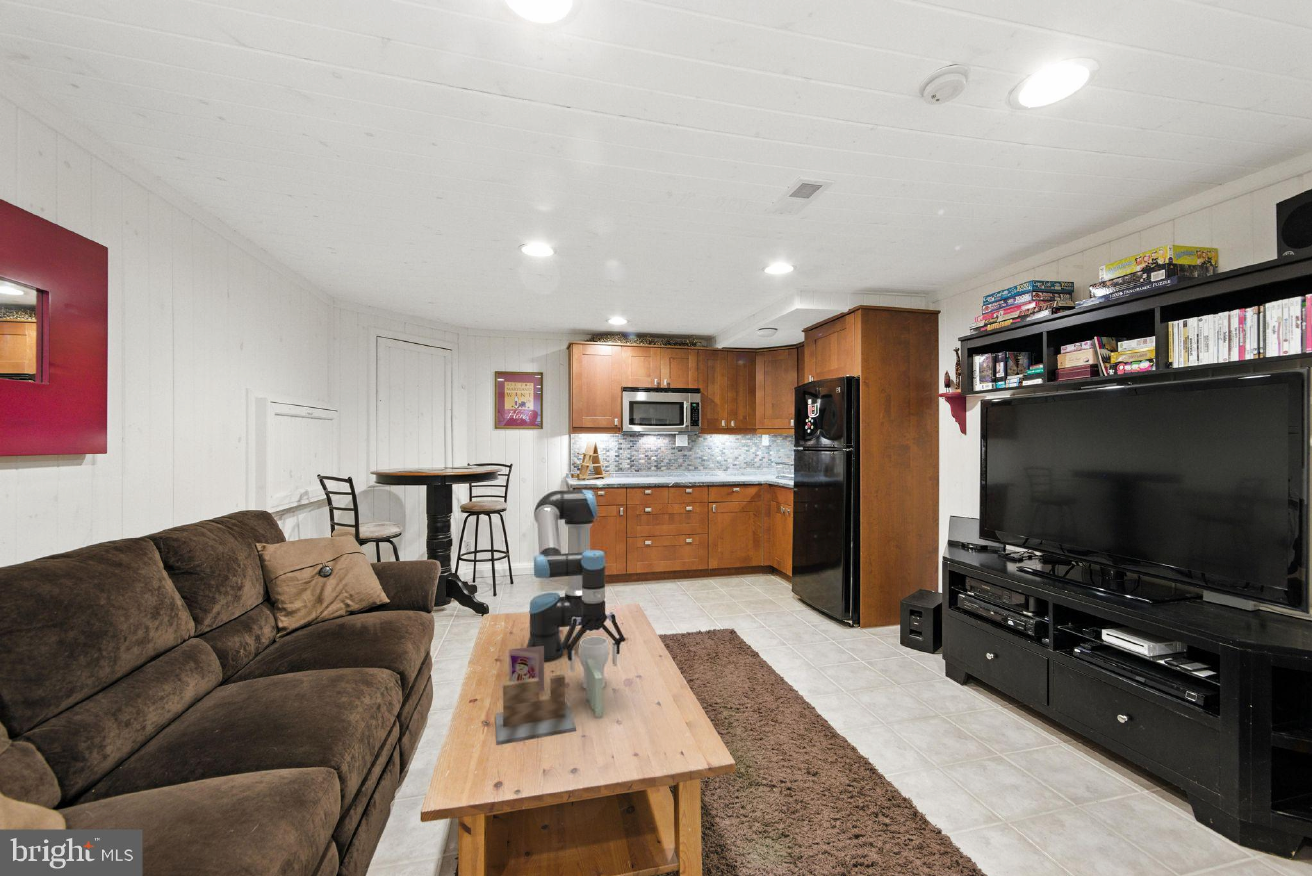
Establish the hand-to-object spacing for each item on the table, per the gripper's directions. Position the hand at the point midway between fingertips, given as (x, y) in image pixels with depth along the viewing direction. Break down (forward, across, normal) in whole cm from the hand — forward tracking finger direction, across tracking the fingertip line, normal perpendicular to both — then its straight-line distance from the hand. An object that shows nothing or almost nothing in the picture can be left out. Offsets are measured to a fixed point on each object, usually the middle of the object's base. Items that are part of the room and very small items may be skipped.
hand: (593, 667), depth 168 cm
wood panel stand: (+12, -19, -4) cm, 23 cm away
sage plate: (+12, 0, 0) cm, 12 cm away
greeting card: (+12, -19, +16) cm, 27 cm away
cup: (+12, +3, +14) cm, 19 cm away
